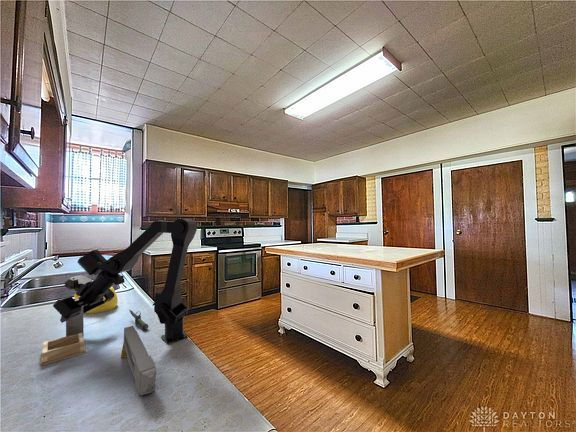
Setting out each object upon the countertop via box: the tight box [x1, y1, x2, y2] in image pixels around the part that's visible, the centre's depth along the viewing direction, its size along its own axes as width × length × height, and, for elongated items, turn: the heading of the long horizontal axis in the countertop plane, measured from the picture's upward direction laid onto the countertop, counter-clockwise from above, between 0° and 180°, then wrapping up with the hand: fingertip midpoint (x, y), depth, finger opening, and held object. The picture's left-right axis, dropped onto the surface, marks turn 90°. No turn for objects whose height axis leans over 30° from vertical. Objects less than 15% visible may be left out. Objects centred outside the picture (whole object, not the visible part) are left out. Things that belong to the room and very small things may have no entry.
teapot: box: [73, 286, 119, 315], centre depth 114 cm, size 22×16×11 cm
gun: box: [120, 325, 157, 397], centre depth 64 cm, size 3×25×15 cm, turn 44°
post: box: [65, 299, 85, 338], centre depth 86 cm, size 4×4×12 cm
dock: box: [40, 333, 87, 366], centre depth 75 cm, size 10×10×3 cm
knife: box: [128, 309, 150, 331], centre depth 96 cm, size 19×2×5 cm, turn 49°
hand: (70, 317), depth 86 cm, fingers closed on post, 6 cm apart
